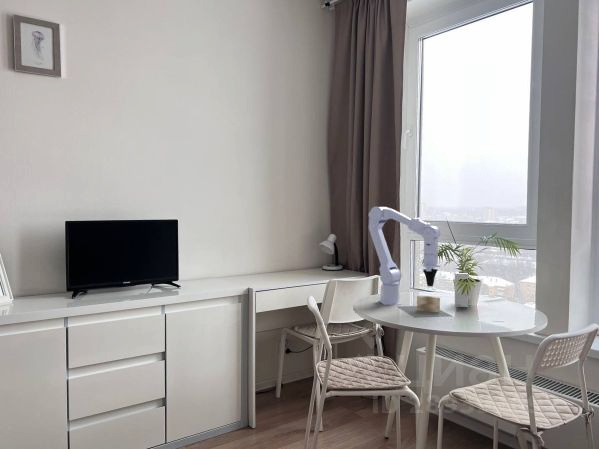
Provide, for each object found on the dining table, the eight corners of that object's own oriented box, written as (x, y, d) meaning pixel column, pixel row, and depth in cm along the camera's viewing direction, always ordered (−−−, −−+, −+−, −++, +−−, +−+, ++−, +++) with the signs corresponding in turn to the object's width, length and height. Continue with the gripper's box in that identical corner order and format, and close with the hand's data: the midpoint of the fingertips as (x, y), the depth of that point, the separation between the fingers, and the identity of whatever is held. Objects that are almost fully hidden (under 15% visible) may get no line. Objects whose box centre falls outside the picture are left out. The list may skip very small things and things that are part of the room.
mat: (396, 307, 200) (396, 306, 200) (431, 306, 203) (431, 305, 203) (414, 318, 181) (414, 317, 181) (453, 317, 183) (453, 316, 183)
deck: (416, 310, 193) (417, 296, 193) (417, 309, 194) (417, 295, 194) (439, 312, 189) (439, 297, 189) (439, 311, 191) (439, 297, 191)
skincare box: (468, 308, 200) (469, 274, 199) (453, 307, 202) (454, 273, 201) (469, 304, 207) (470, 271, 207) (455, 303, 210) (456, 270, 209)
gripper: (438, 256, 188) (438, 289, 188) (442, 253, 201) (441, 284, 202) (421, 255, 191) (420, 288, 191) (425, 252, 204) (424, 283, 204)
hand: (430, 286), depth 197 cm, fingers closed
